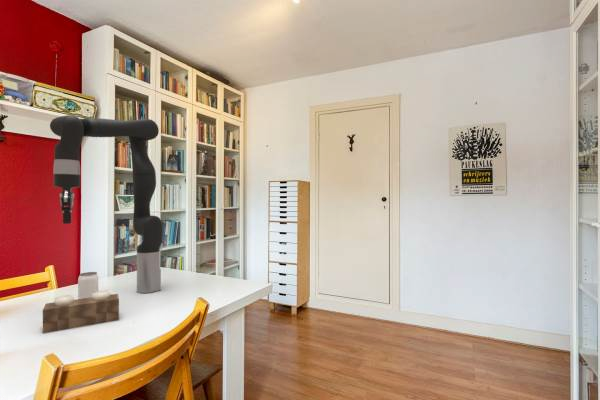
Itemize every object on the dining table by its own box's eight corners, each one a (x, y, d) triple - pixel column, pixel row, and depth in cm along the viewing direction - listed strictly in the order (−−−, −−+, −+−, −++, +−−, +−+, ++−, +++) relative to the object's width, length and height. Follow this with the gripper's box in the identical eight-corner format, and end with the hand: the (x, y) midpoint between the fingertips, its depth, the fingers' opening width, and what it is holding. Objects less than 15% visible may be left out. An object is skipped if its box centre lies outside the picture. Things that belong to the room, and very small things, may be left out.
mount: (117, 313, 113) (117, 293, 113) (118, 319, 107) (118, 299, 107) (45, 325, 102) (45, 303, 102) (42, 333, 96) (42, 310, 96)
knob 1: (74, 317, 105) (74, 294, 105) (73, 321, 101) (73, 298, 101) (55, 320, 102) (55, 296, 102) (53, 325, 98) (53, 300, 98)
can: (76, 308, 117) (76, 276, 117) (79, 303, 123) (79, 272, 123) (97, 306, 120) (97, 274, 120) (99, 301, 126) (99, 271, 126)
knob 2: (109, 311, 111) (109, 289, 110) (110, 315, 106) (110, 293, 106) (92, 314, 108) (92, 292, 108) (92, 318, 104) (92, 295, 104)
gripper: (79, 172, 107) (79, 224, 107) (81, 175, 118) (81, 221, 119) (51, 171, 103) (51, 225, 103) (55, 174, 114) (55, 222, 114)
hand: (67, 223), depth 111 cm, fingers closed
